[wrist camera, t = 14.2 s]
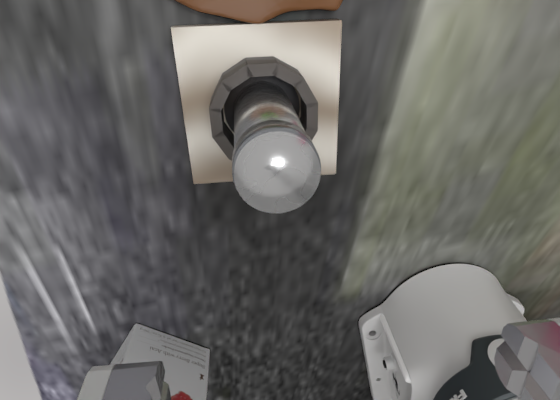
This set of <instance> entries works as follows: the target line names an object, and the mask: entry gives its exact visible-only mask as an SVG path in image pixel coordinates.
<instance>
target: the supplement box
mask: <svg viewBox="0 0 560 400" xmlns="http://www.w3.org/2000/svg"><path fill="white" fill-rule="evenodd" d="M209 357H210V349H207V348H204V347H201V346H199V345H196V344H193V343H191V342H188V341H185V340H182V339H179V338H177V337H174V336H171V335H168V334H166V333H163V332H160V331H157V330H154V329H151V328H149V327H146V326H143V325H140V324H137V323H136V324H135V325H134V326H133V328H132V329H131V331H130V332H129V334H128V336H127V337H126V339H125V341H124V342H123V344H122V345H121V347H120V349H119V350H118V352H117V354H116V355H115V357H114V358H113V360H112V362H111V363H110V365H115V364H126V363H138V362H151V361H162V362H163V365H164V369H165V376H164V382H166V383H167V384H169V388H170V394H171V400H206V398H207V385H208V371H209Z"/></svg>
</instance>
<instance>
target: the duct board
mask: <svg viewBox="0 0 560 400" xmlns="http://www.w3.org/2000/svg"><path fill="white" fill-rule="evenodd" d="M341 32H342V20H339V19H320V20H296V21H272V22H264V23H261V24H253V23H224V24H200V25H176V26H172V27H171V33H172V40H173V46H174V53H175V60H176V67H177V74H178V81H179V87H180V94H181V101H182V108H183V115H184V121H185V128H186V135H187V142H188V149H189V155H190V162H191V169H192V176H193V183H194V184H202V183H216V182H230V181H233V177H232V156H233V151H234V104H235V100H236V98H237V96H238V94H239V93H240V91H241V90H242V89H243V88H245V87H246V86H247V85H249V84H251V83H254V82H257V81H268V82H272V83H274V84H277V85H278V86H280V87H281V88H282V89H283V90H284V91H285V92H286V94H287V95H288V97H289V99H290V101H291V103H292V105H293V107H294V110H295V112H296V114H297V116H298V118H299V120H300V122H301V124H302V126H303V128H304V130H305V132H306V133H307V134H308V136H309V137H310V139H311V141H312V143H313V144H314V147H315V149H316V151H317V153H318V155H319V158H320V162H321V175H329V174H336V159H337V134H338V108H339V83H340V57H341Z"/></svg>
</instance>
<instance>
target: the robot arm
mask: <svg viewBox="0 0 560 400" xmlns="http://www.w3.org/2000/svg"><path fill="white" fill-rule="evenodd" d="M523 313H524V307H523V305H522V304H521V303H520V301H519V300H518V299H517V298H515V297H513V296H511V295H510V294H507V293H506V292H505V291H504V289H503V288H502V286H501V284H500V283H499V281H498V280H497V278H496V277H495V276H494V275H493V274H492V273H490V272H489V271H487V270H485V269H483V268H481V267H478V266H475V265H469V264H448V265H442V266H438V267H434V268H431V269H428V270H426V271H423V272H421V273H419V274H417V275H415V276H413V277H412V278H410V279H408V280H407V281H406V282H404V283H403V284H402V285H400V286H399V287H398V288H397V289H396V290H395V291H394V292H393V293H392V294H391V295H390V296H389V297H388V298H387V299H386V300H385V301H384V302H383V303H382V304H381V305H380V306H378V307H376V308H374V309H372V310H371V311H369V312H367V313H366V314H364V315H363V316H362V317H361V318H360V319H359V330H360V335H361V341H362V346H363V352H364V357H365V363H366V368H367V374H368V379H369V385H370V390H371V395H372V398H373V400H560V318H553V319H541V320H533V321H526V319H525V318H524V316H523ZM164 376H165V369H164V365H163V362H162V361H151V362H138V363H126V364H115V365H104V366H93V367H92V368H91V369H90V370H89V372H88V373H87V375H86V377H85V380H84V383H83V385H82V388H81V391H80V393H79V396H78V398H77V400H171V394H170V388H169V384H167V383H166V382H164Z"/></svg>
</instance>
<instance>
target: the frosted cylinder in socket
mask: <svg viewBox="0 0 560 400" xmlns="http://www.w3.org/2000/svg"><path fill="white" fill-rule="evenodd" d="M320 176H321V162H320V158H319V155H318V153H317V151H316V149H315V147H314V144H313V143H312V141H311V139H310V137H309V136H308V134H307V133H306V132H305V130H304V128H303V126H302V124H301V122H300V120H299V118H298V116H297V114H296V112H295V110H294V107H293V105H292V103H291V101H290V99H289V97H288V95H287V94H286V92H285V91H284V90H283V89H282V88H281V87H280V86H278V85H277V84H274V83H272V82H268V81H257V82H254V83H251V84H249V85H247V86H246V87H245V88H243V89H242V90H241V91H240V93H239V94H238V96H237V98H236V100H235V104H234V151H233V156H232V177H233V182H234V185H235V187H236V190H237V191H238V193H239V194H240V196H241V197H242V199H243V200H244V201H245V202H246V203H247V204H249V205H250V206H252V207H253V208H255V209H257V210H260V211H262V212H267V213H285V212H289V211H292V210H294V209H296V208H298V207H300V206H302V205H303V204H305V203H306V202H307V201H308V200H309V199H310V198H311V197H312V196H313V194H314V193H315V191H316V189H317V187H318V185H319V181H320Z"/></svg>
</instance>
